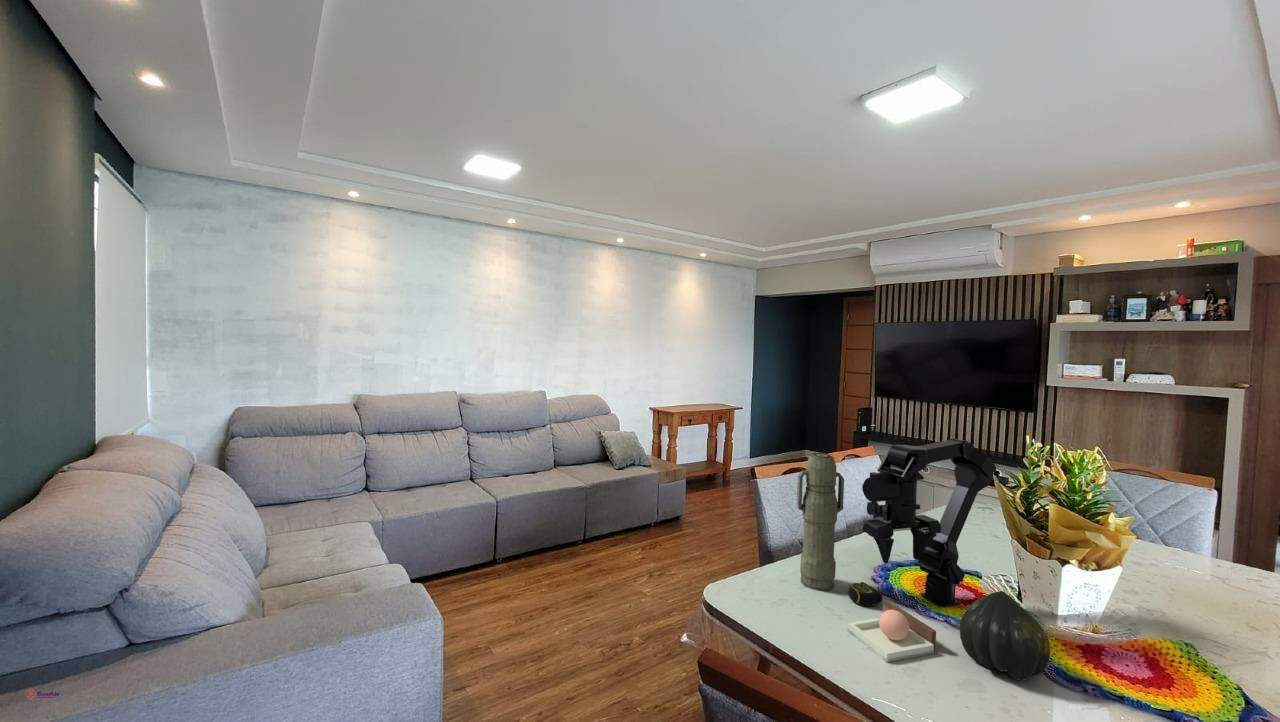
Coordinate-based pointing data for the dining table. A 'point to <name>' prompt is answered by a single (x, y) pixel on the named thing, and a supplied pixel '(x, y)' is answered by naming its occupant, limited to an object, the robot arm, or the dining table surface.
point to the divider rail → (913, 623)
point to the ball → (894, 625)
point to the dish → (889, 641)
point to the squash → (1004, 636)
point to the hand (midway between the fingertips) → (900, 561)
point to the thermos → (819, 520)
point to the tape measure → (864, 594)
